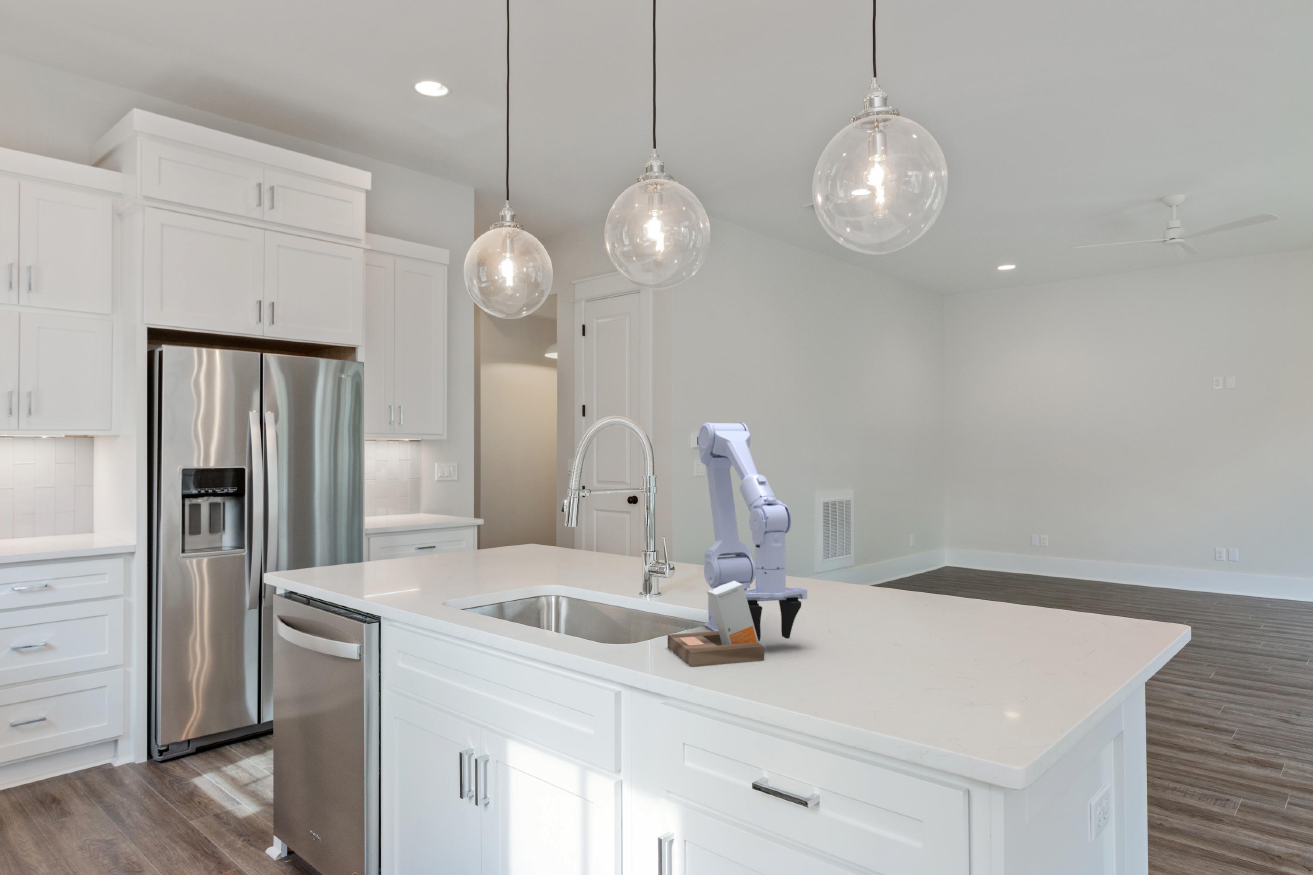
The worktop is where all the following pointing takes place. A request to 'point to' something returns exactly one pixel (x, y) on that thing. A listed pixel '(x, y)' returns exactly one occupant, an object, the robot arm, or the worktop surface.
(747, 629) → the skincare box
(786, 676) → the worktop surface
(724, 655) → the rack board
